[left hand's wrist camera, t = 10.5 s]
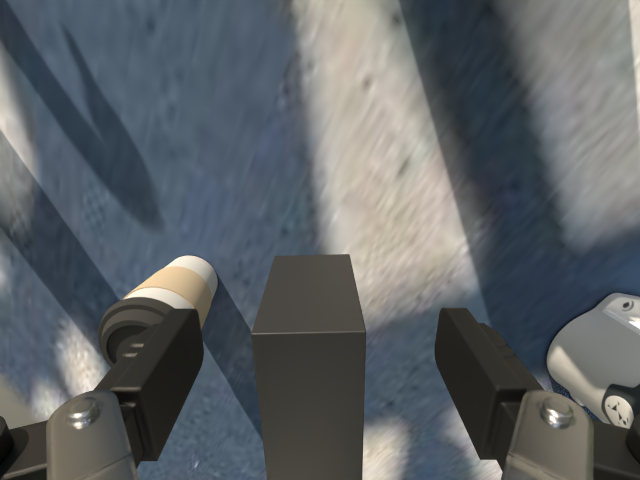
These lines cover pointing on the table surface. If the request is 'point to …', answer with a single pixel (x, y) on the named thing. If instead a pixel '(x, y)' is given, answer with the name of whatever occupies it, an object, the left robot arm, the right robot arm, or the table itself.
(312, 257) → the bar
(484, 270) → the table surface
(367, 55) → the table surface
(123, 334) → the coffee cup
